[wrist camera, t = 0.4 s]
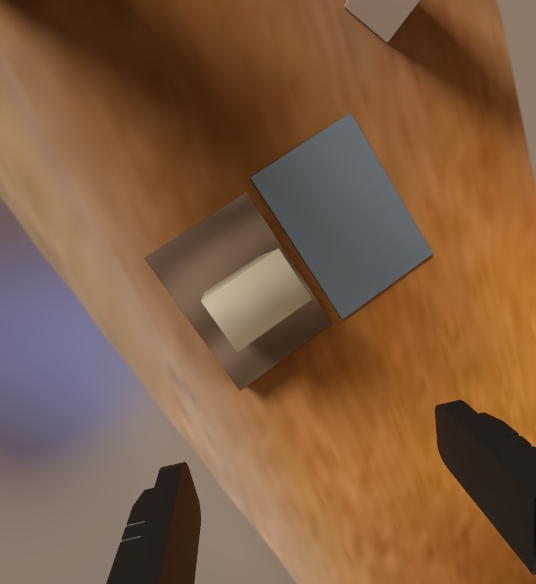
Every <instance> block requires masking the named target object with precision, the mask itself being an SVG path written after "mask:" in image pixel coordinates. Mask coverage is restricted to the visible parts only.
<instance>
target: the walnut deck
mask: <svg viewBox="0 0 536 584" xmlns="http://www.w3.org/2000/svg"><path fill="white" fill-rule="evenodd" d="M278 248H279V250H280V251H281V253H282V254H283V256H284V257H285V259H286V260H287V262H288V263H289V265H290V266H291V268H292V269H293V271H294V272H295V274H296V275H297V277H298V279H299V280H300V282H301V283H302V285H303V286H304V288H305V289H306V291H307V292H308V294H309V295H310V297H311V298H312V299H311V300H310V301H309V302H307V303H306V304H304V305H303V306H302V307H300V308H299V309H297V310H296V311H295V312H293V313H292V314H290V315H289V316H287V317H286V318H285V319H283V320H282V321H280V322H279V323H278V324H276V325H275V326H273V327H272V328H271V329H269V330H268V331H266V332H265V333H264V334H262V335H261V336H259V337H258V338H257V339H255V340H254V341H252V342H251V343H250V344H248V345H247V346H245V347H244V348H243V349H241V350H240V351H238V352H237V351H236V350H235V349H234V347H233V346H232V344H231V343H230V342H229V340H228V339H227V337H226V336H225V335H224V333H223V332H222V330H221V329H220V328H219V326H218V325H217V323H216V322H215V320H214V319H213V318H212V316H211V315H210V313H209V312H208V311H207V309H206V308H205V306H204V305H203V304H202V302H201V300H202V297H203V294H204V293H205V292H206V291H208V290H209V289H211V288H212V287H214V286H215V285H217V284H218V283H220V282H221V281H223V280H224V279H226V278H227V277H229V276H230V275H231V274H233V273H234V272H236V271H237V270H239V269H240V268H242V267H243V266H245V265H246V264H248V263H249V262H251V261H252V260H254V259H255V258H257V257H258V256H261V255H263V254H266V253H268V252H271V251H273V250H276V249H278ZM144 259H145V260H146V262H147V263H148V264H149V266H150V267H151V269H152V270H153V271H154V273H155V274H156V275H157V277H158V278H159V280H160V281H161V282H162V284H163V285H164V287H165V288H166V289H167V291H168V292H169V293H170V295H171V296H172V298H173V299H174V300H175V302H176V303H177V305H178V306H179V307H180V309H181V310H182V312H183V313H184V314H185V316H186V317H187V318H188V320H189V321H190V323H191V324H192V325H193V327H194V328H195V330H196V331H197V332H198V334H199V335H200V336H201V338H202V339H203V341H204V342H205V343H206V345H207V346H208V348H209V349H210V350H211V352H212V353H213V355H214V356H215V357H216V359H217V360H218V361H219V363H220V364H221V366H222V367H223V368H224V370H225V371H226V373H227V374H228V375H229V377H230V378H231V379H232V381H233V382H234V384H235V385H236V386H237V388H238V389H239V391H241V390H242V389H244V388H245V387H246V386H248V385H249V384H250V383H252V382H253V381H254V380H256V379H257V378H259V377H260V376H261V375H263V374H264V373H265V372H267V371H268V370H270V369H271V368H272V367H274V366H275V365H276V364H278V363H279V362H281V361H282V360H283V359H285V358H286V357H287V356H289V355H290V354H292V353H293V352H294V351H296V350H297V349H298V348H300V347H301V346H303V345H304V344H305V343H307V342H308V341H309V340H311V339H312V338H314V337H315V336H316V335H318V334H319V333H320V332H322V331H323V330H325V329H326V328H327V327H329V326H330V325H331V324H332V322H331V321H330V319H329V317H328V316H327V314H326V313H325V311H324V310H323V308H322V307H321V305H320V304H319V302H318V301H317V299H316V298H315V296H314V295H313V293H312V291H311V290H310V288H309V287H308V285H307V284H306V282H305V281H304V279H303V278H302V276H301V275H300V273H299V272H298V270H297V268H296V267H295V265H294V264H293V262H292V261H291V259H290V258H289V256H288V255H287V253H286V252H285V250H284V249H283V247H282V246H281V244H280V242H279V241H278V239H277V238H276V236H275V235H274V233H273V232H272V230H271V229H270V227H269V226H268V224H267V223H266V221H265V220H264V218H263V216H262V215H261V213H260V212H259V210H258V209H257V207H256V206H255V204H254V203H253V201H252V200H251V198H250V197H249V195H248V193H247V192H245V193H244V194H242V195H241V196H239V197H238V198H236V199H235V200H233V201H232V202H230V203H228V204H227V205H225V206H224V207H222V208H221V209H219V210H218V211H216V212H215V213H213V214H212V215H210V216H208V217H207V218H205V219H204V220H202V221H201V222H199V223H198V224H196V225H195V226H193V227H192V228H190V229H188V230H187V231H185V232H184V233H182V234H181V235H179V236H178V237H176V238H175V239H173V240H172V241H170V242H168V243H167V244H165V245H164V246H162V247H161V248H159V249H158V250H156V251H155V252H153V253H152V254H150V255H148V256H147V257H145V258H144Z"/></svg>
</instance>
